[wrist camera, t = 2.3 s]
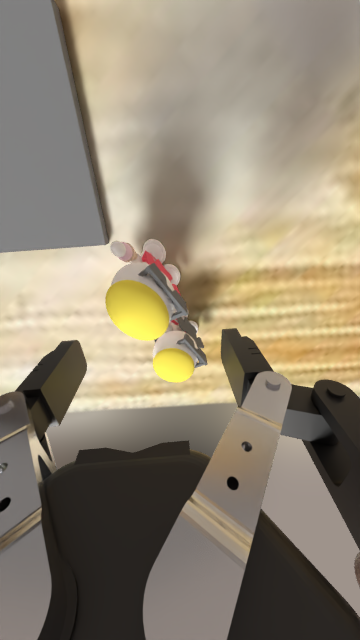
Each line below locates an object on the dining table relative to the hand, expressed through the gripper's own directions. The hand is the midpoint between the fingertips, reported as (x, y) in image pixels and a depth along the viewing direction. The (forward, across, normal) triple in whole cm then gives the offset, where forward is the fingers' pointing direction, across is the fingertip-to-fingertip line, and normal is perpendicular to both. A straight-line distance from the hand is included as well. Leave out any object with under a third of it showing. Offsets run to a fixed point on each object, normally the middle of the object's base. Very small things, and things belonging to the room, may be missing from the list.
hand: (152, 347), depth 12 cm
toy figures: (+9, -1, 0) cm, 9 cm away
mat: (+8, +10, -11) cm, 17 cm away
